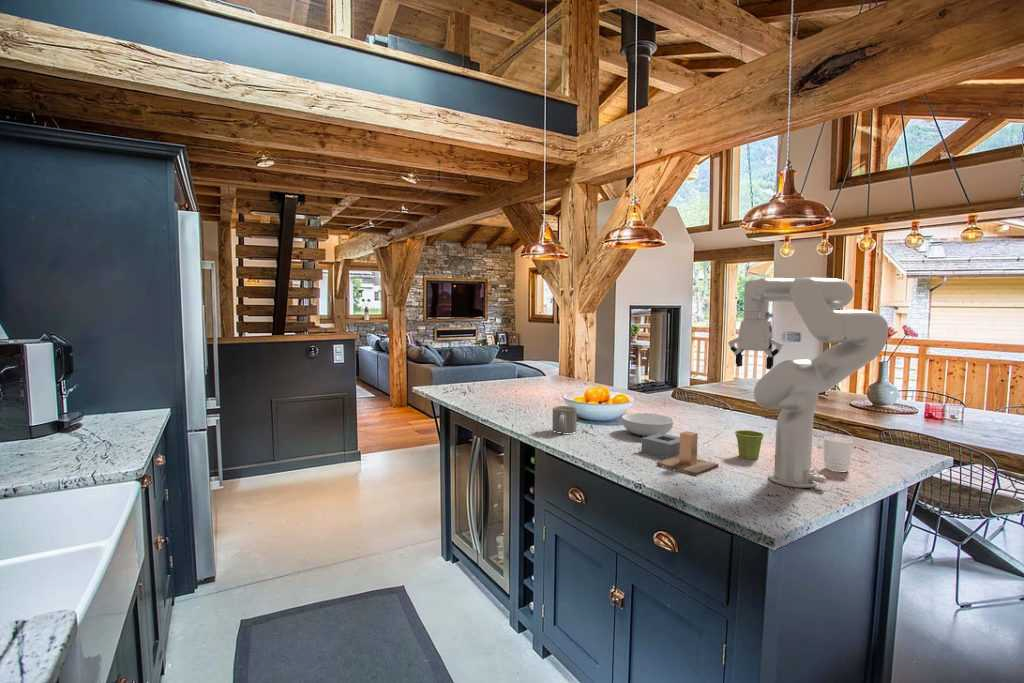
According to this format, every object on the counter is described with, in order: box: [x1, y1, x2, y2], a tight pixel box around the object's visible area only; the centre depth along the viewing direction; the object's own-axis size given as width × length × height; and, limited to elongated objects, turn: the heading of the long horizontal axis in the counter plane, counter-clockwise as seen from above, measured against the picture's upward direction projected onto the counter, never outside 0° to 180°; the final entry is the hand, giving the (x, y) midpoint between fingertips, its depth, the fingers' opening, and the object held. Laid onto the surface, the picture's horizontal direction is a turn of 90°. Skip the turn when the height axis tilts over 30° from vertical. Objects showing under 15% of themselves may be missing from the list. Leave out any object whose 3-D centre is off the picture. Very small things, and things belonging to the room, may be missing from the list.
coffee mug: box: [552, 405, 577, 433], centre depth 211 cm, size 13×10×10 cm
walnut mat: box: [656, 455, 719, 476], centre depth 166 cm, size 14×14×1 cm
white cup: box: [823, 435, 853, 471], centre depth 164 cm, size 8×8×10 cm
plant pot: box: [734, 429, 765, 460], centre depth 177 cm, size 9×9×9 cm
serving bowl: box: [621, 412, 675, 437], centre depth 209 cm, size 21×21×7 cm
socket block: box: [641, 433, 680, 459], centre depth 182 cm, size 12×12×5 cm
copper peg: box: [679, 431, 699, 466], centre depth 166 cm, size 4×4×10 cm
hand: (753, 367), depth 170 cm, fingers open, 9 cm apart
